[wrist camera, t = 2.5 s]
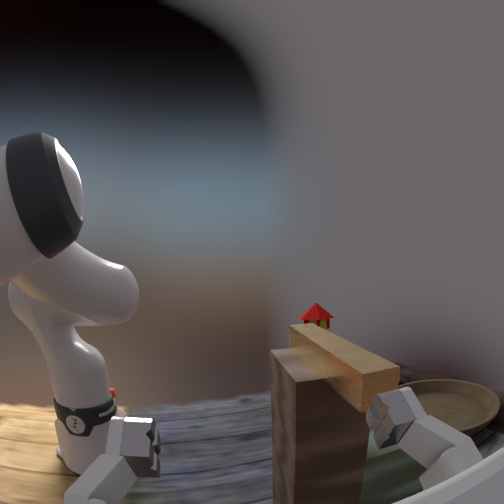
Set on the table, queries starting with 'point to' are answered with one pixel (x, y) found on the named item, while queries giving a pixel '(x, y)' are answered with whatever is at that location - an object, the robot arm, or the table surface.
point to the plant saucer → (457, 403)
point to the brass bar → (344, 364)
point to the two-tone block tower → (329, 444)
